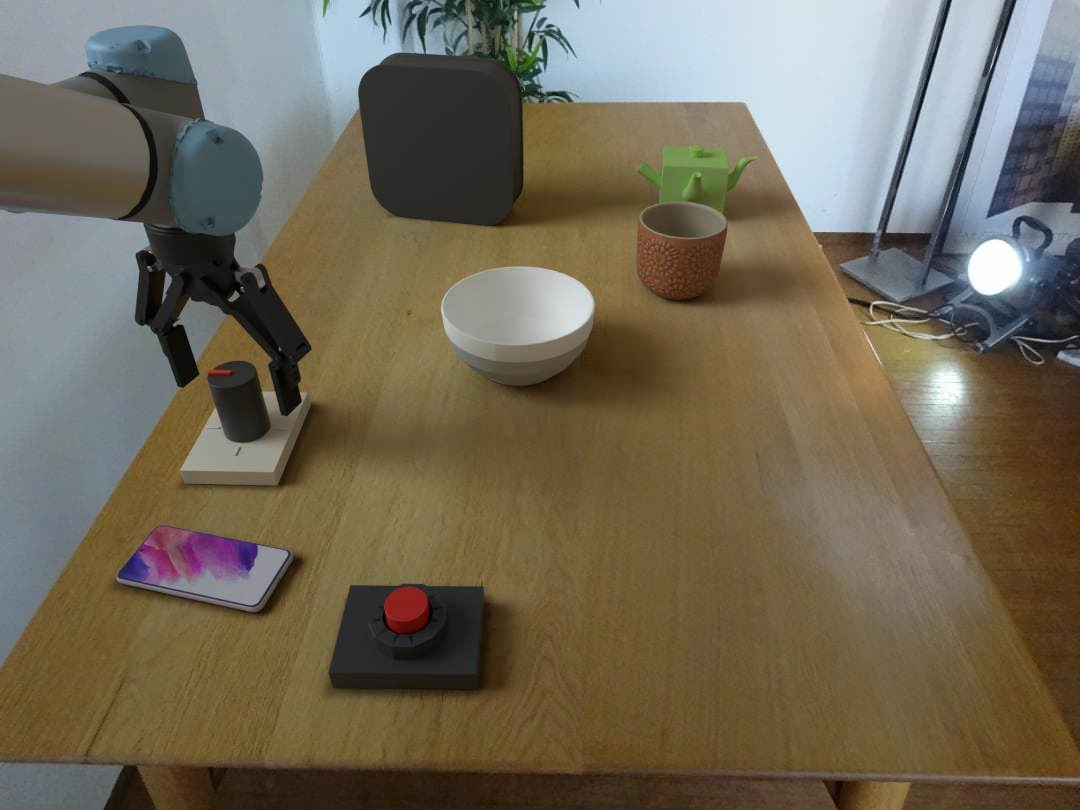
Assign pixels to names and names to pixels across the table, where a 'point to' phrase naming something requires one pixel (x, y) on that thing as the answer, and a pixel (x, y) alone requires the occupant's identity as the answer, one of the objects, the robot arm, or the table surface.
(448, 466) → the table surface
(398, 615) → the power button
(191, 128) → the robot arm
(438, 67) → the speaker
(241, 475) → the panel
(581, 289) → the bowl
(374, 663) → the switch box
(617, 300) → the table surface
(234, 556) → the smartphone
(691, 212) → the planter
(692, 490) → the table surface
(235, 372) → the dial
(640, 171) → the kettle
